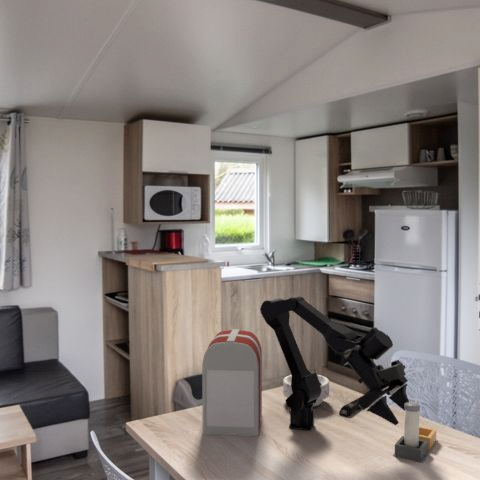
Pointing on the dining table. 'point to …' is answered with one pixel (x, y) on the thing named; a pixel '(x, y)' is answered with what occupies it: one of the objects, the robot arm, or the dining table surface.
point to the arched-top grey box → (232, 384)
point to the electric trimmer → (350, 408)
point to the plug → (411, 425)
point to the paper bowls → (324, 387)
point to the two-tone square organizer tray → (425, 446)
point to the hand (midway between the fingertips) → (404, 419)
